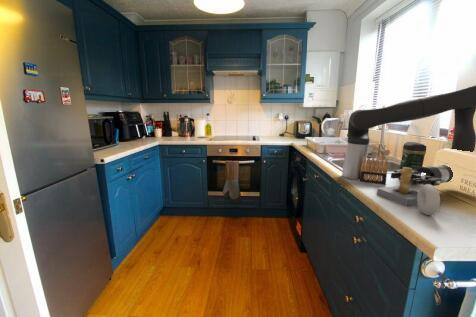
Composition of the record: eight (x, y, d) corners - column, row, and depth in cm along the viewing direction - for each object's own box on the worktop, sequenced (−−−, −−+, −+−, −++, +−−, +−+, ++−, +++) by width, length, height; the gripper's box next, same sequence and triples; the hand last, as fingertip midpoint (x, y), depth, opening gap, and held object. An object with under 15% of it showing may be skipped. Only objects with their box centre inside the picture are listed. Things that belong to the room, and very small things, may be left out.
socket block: (376, 194, 91) (377, 188, 90) (398, 191, 95) (399, 185, 94) (406, 206, 80) (407, 199, 79) (429, 202, 84) (431, 195, 83)
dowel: (395, 196, 88) (400, 167, 86) (401, 196, 89) (406, 166, 87) (403, 199, 86) (408, 169, 83) (408, 198, 86) (414, 168, 84)
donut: (412, 206, 80) (418, 179, 77) (424, 208, 78) (430, 181, 76) (425, 219, 70) (431, 189, 68) (438, 221, 69) (445, 190, 67)
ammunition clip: (359, 181, 107) (362, 156, 104) (359, 180, 109) (362, 156, 106) (385, 184, 102) (389, 159, 100) (385, 183, 104) (389, 158, 101)
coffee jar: (422, 183, 104) (430, 144, 100) (402, 182, 107) (410, 143, 103) (413, 177, 114) (420, 141, 109) (395, 176, 116) (401, 140, 112)
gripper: (414, 162, 96) (385, 164, 91) (455, 171, 82) (424, 174, 77) (411, 178, 97) (382, 182, 92) (450, 190, 84) (419, 195, 79)
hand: (401, 178), depth 85 cm, fingers open, 7 cm apart
